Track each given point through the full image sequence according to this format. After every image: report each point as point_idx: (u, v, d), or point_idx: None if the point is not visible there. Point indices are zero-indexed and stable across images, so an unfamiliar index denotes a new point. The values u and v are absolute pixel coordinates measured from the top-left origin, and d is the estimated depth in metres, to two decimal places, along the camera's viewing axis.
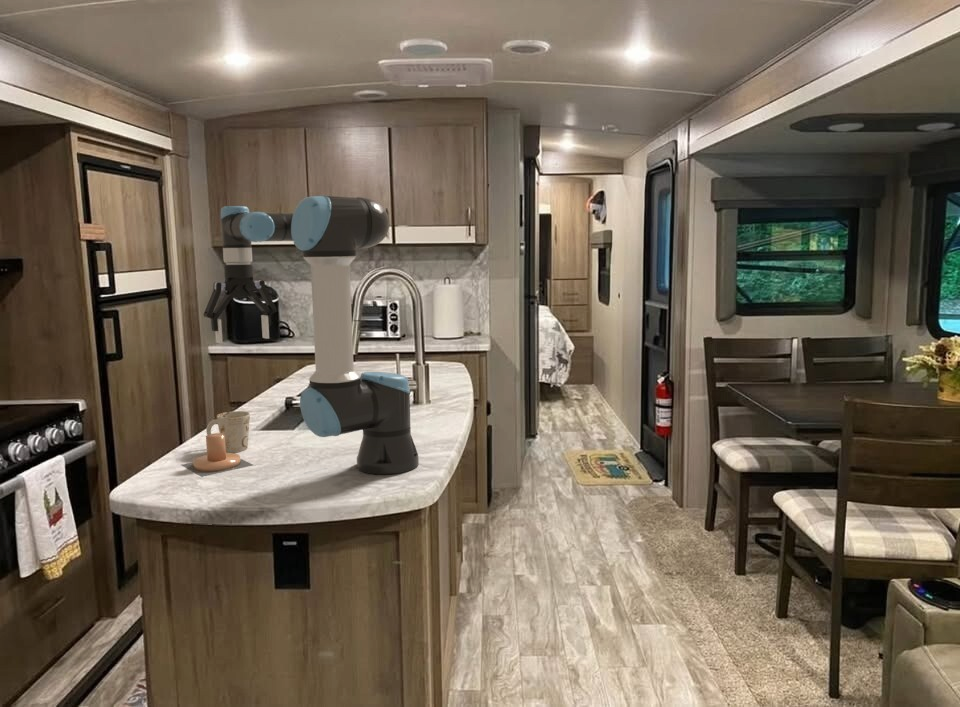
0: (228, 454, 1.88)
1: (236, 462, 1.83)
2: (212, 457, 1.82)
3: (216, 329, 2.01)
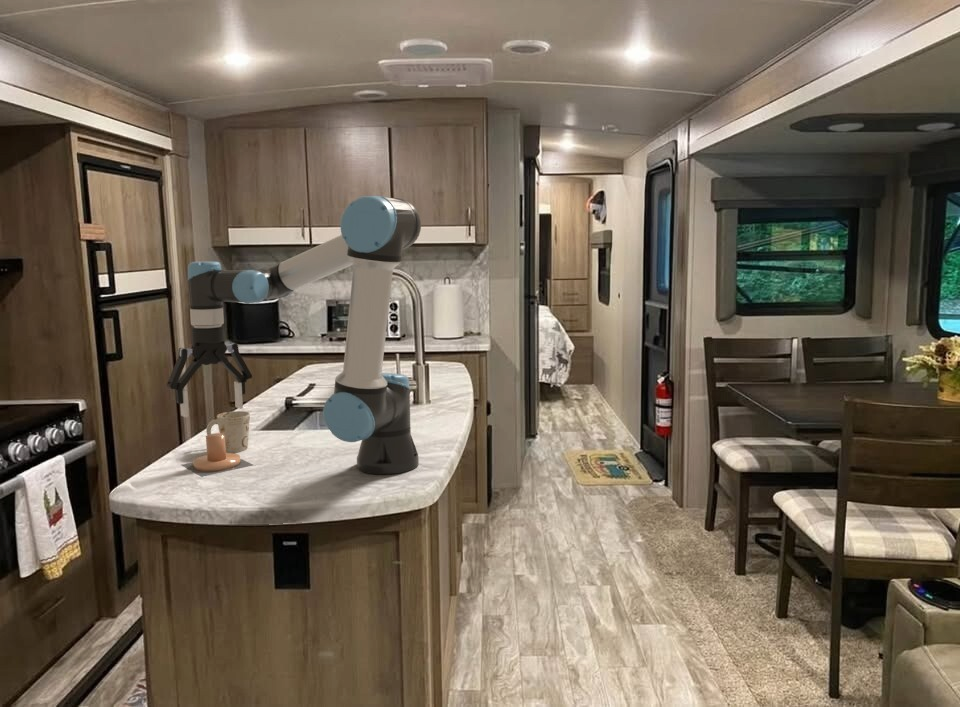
0: (228, 454, 1.88)
1: (236, 462, 1.83)
2: (212, 457, 1.82)
3: (181, 401, 1.76)
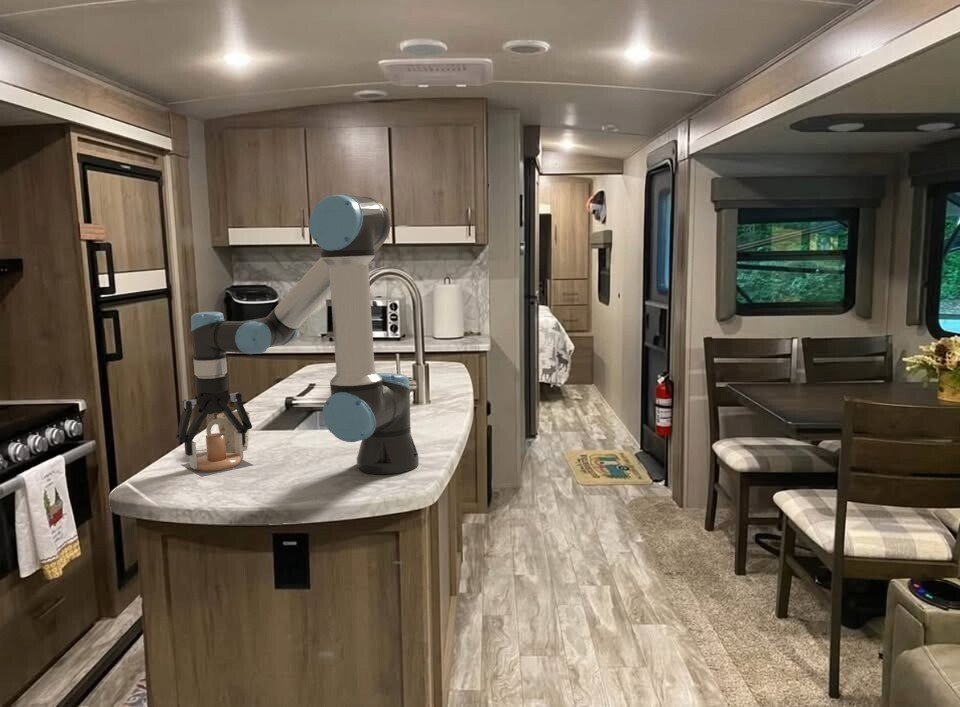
0: (228, 454, 1.88)
1: (236, 462, 1.83)
2: (212, 457, 1.82)
3: (190, 453, 1.79)
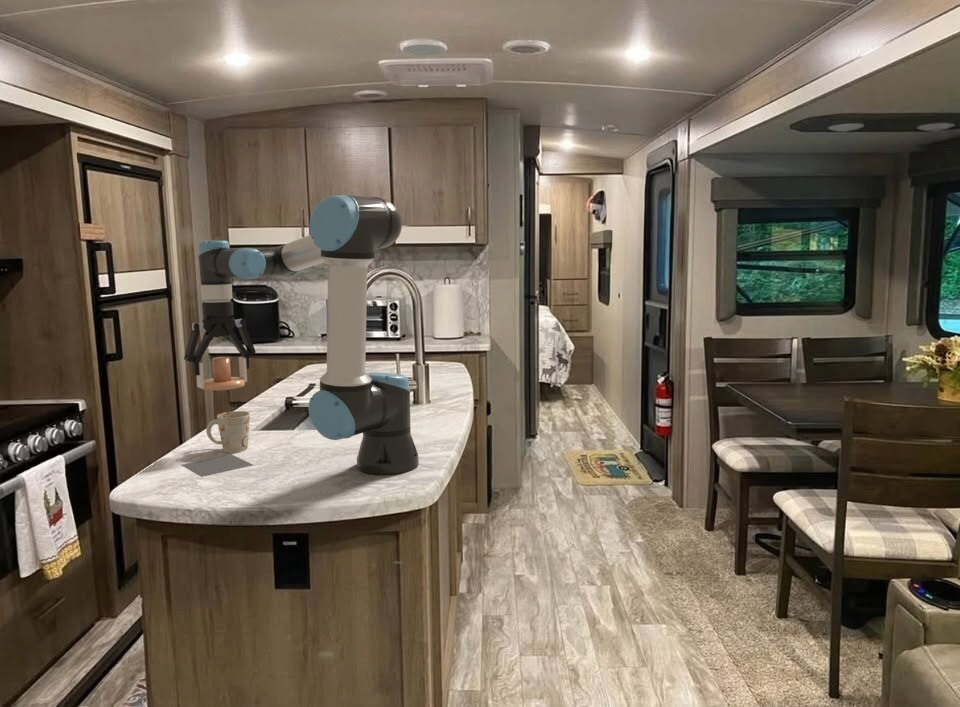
0: (233, 377, 1.99)
1: (241, 383, 1.94)
2: (218, 378, 1.93)
3: (197, 373, 1.90)
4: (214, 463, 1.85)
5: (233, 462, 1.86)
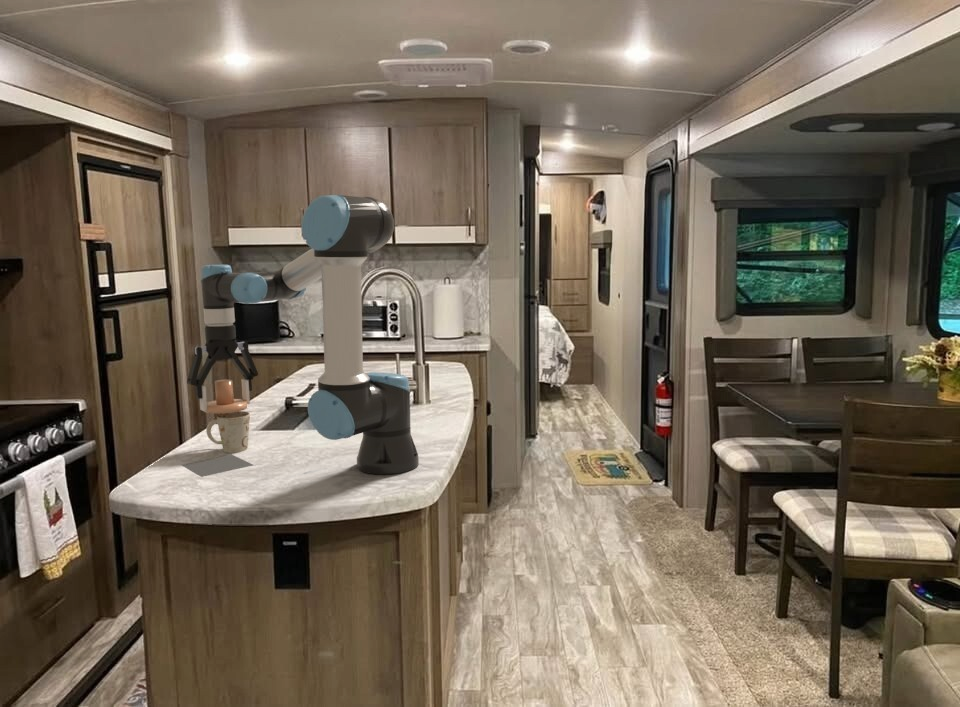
0: (235, 399, 2.01)
1: (243, 406, 1.95)
2: (221, 401, 1.94)
3: (200, 396, 1.91)
4: (214, 463, 1.85)
5: (233, 462, 1.86)
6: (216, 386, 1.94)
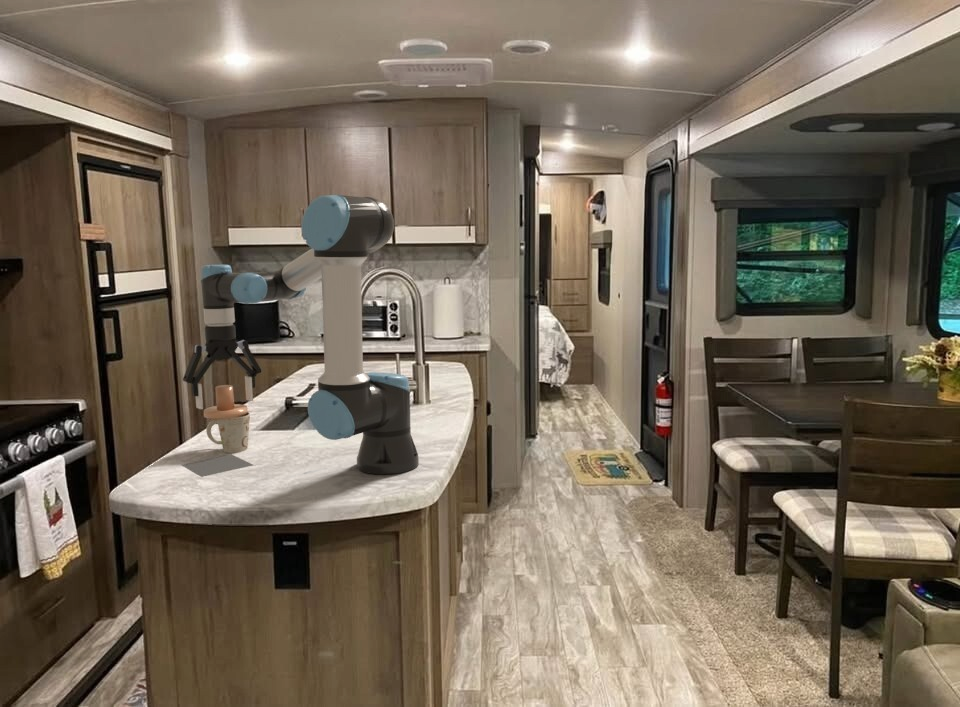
0: (236, 405, 2.01)
1: (244, 411, 1.96)
2: (221, 406, 1.95)
3: (196, 394, 1.91)
4: (214, 463, 1.85)
5: (233, 462, 1.86)
6: (217, 392, 1.95)
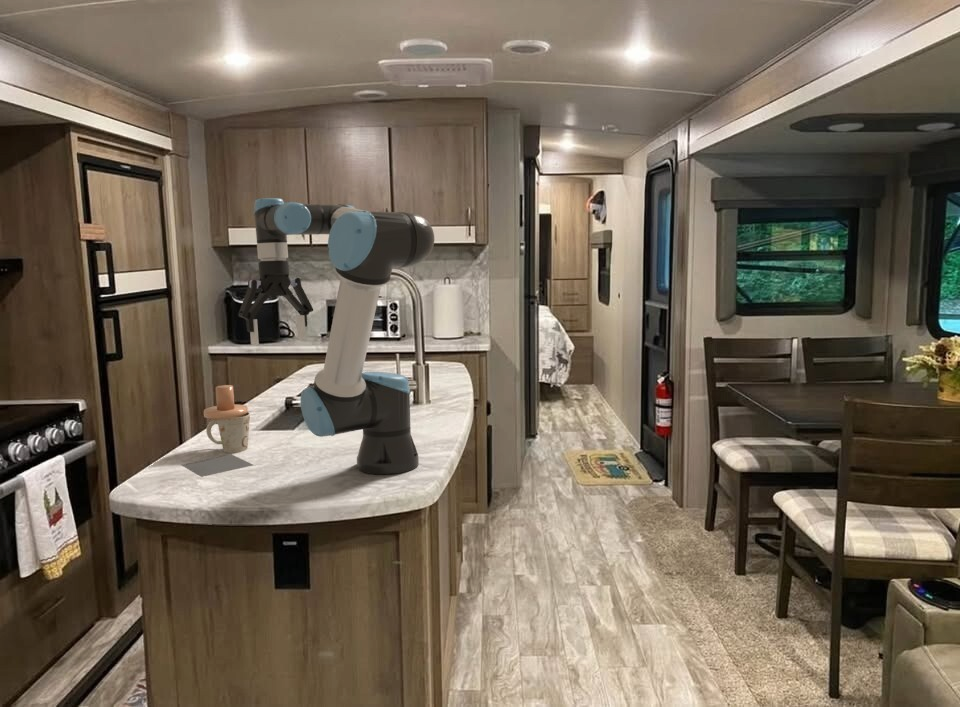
0: (236, 405, 2.01)
1: (244, 411, 1.96)
2: (221, 406, 1.95)
3: (252, 330, 1.87)
4: (214, 463, 1.85)
5: (233, 462, 1.86)
6: (217, 392, 1.95)
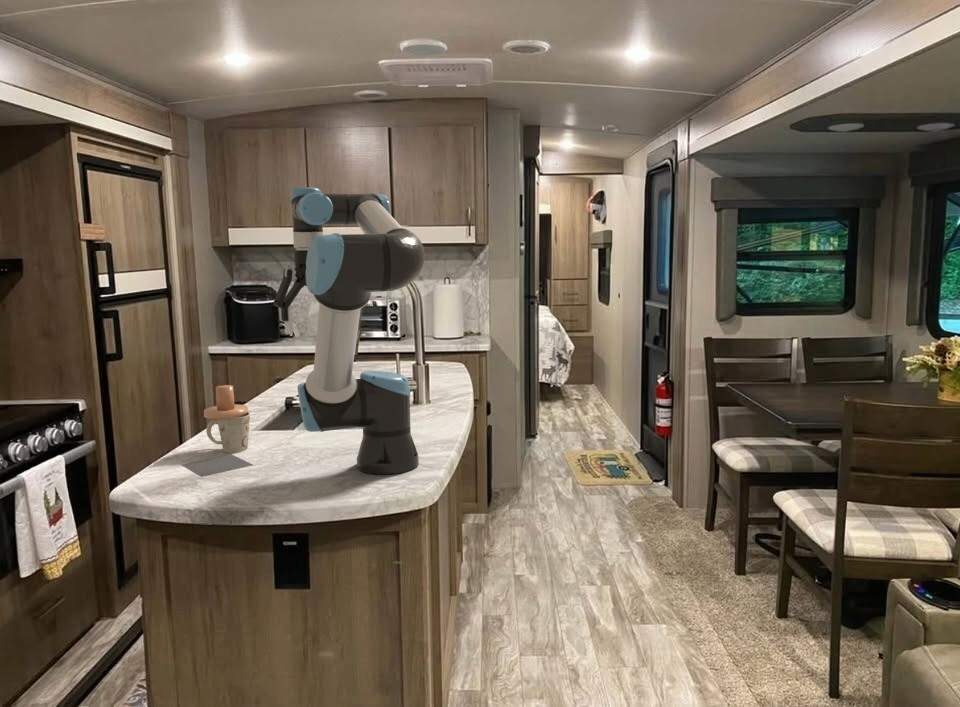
0: (236, 405, 2.01)
1: (244, 411, 1.96)
2: (221, 406, 1.95)
3: (286, 319, 1.88)
4: (214, 463, 1.85)
5: (233, 462, 1.86)
6: (217, 392, 1.95)
